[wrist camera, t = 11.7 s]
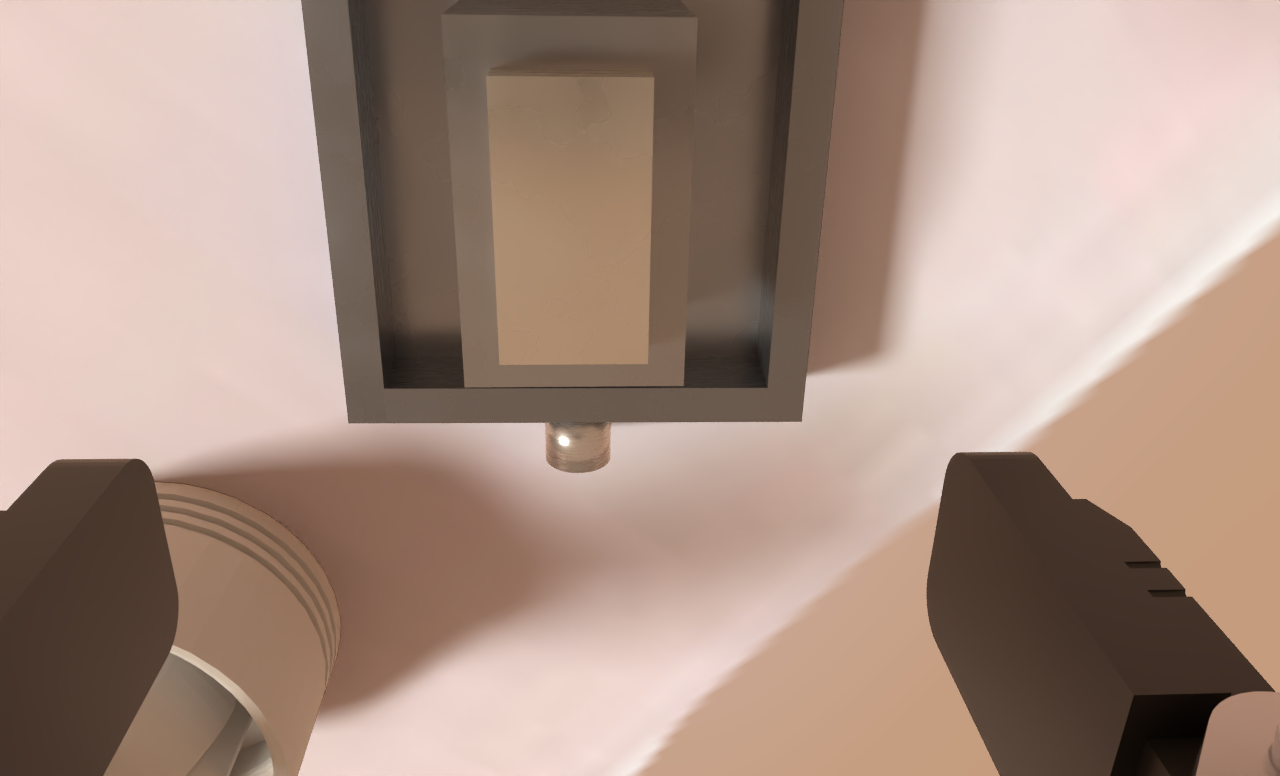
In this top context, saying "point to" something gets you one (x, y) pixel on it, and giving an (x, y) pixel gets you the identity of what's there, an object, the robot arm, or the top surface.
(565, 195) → the stepped two-tone block
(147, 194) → the top surface
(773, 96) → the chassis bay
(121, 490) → the robot arm
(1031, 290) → the top surface
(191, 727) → the engine component
